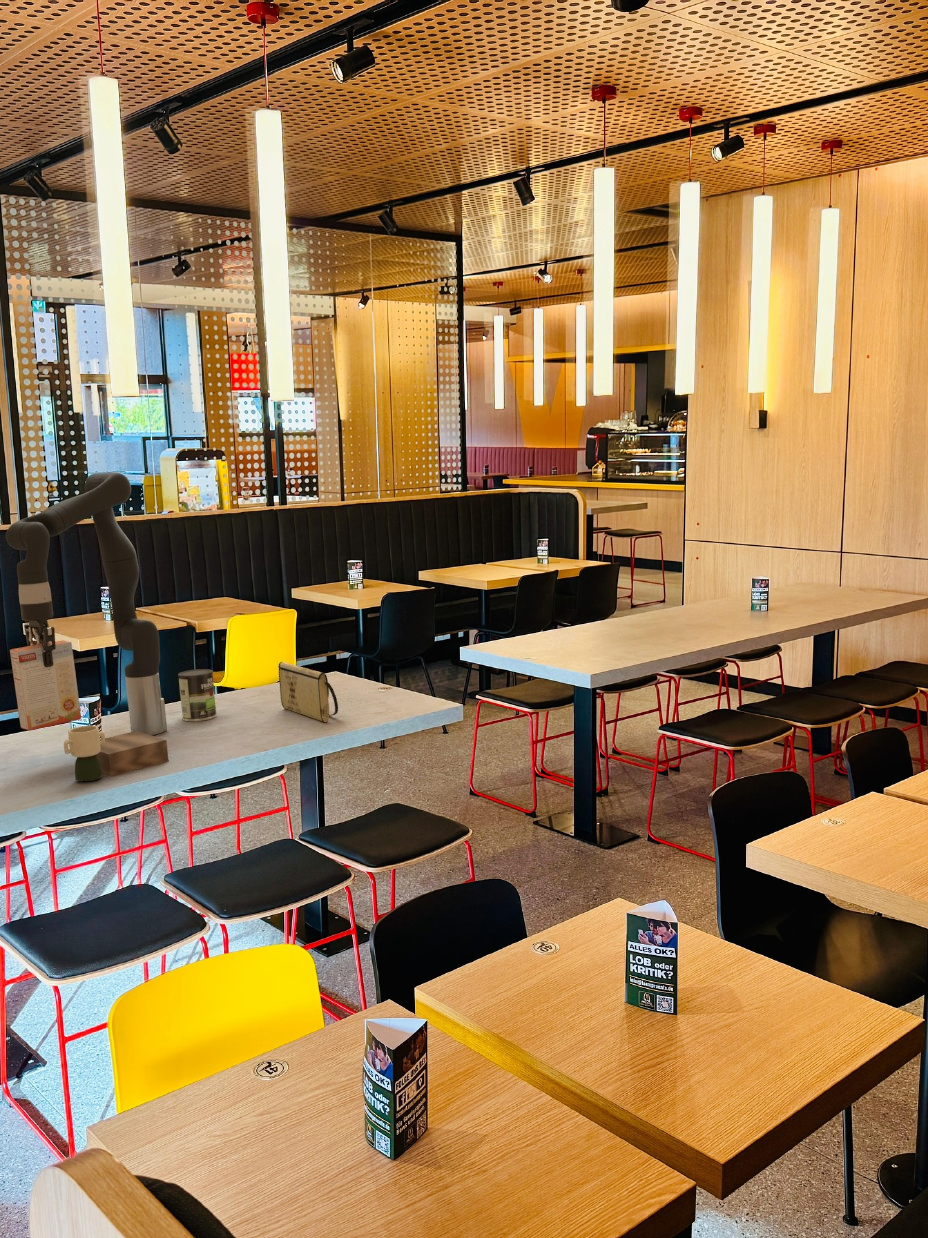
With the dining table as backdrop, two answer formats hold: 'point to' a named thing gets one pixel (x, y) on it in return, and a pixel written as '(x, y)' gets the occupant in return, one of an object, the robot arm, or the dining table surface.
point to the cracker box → (45, 686)
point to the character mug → (85, 751)
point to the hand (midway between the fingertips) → (43, 665)
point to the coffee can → (197, 695)
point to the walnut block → (131, 752)
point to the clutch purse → (305, 691)
